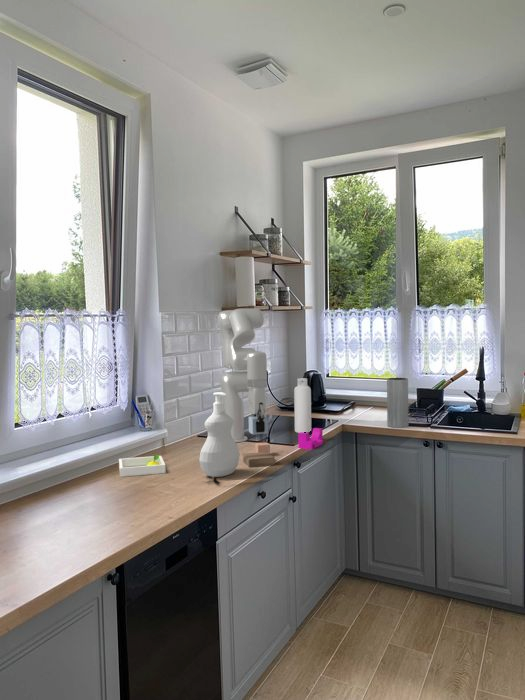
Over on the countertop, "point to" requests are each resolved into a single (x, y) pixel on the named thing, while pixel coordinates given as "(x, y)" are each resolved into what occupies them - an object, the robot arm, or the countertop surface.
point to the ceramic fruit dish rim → (140, 469)
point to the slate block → (253, 425)
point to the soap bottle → (219, 443)
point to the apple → (153, 461)
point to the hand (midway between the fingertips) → (258, 430)
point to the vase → (397, 403)
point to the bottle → (302, 406)
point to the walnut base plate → (258, 459)
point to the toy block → (310, 439)
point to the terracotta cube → (262, 447)
